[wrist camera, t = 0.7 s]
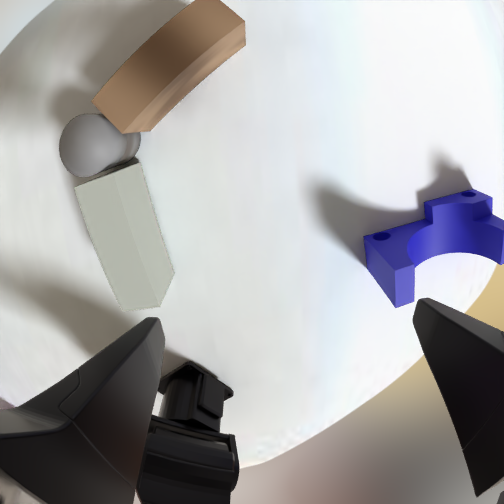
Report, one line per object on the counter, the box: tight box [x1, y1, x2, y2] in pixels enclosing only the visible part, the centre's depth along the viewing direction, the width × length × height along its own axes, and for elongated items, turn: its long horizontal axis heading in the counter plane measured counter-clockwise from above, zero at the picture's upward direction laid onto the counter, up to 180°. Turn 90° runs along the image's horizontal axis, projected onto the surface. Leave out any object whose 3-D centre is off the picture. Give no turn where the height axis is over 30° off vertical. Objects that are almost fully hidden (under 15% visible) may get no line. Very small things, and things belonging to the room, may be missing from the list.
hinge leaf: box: [59, 114, 175, 312], centre depth 18 cm, size 13×4×5 cm, turn 12°
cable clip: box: [364, 189, 504, 308], centre depth 19 cm, size 12×4×6 cm, turn 106°
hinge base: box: [91, 0, 246, 168], centre depth 15 cm, size 13×4×5 cm, turn 132°
